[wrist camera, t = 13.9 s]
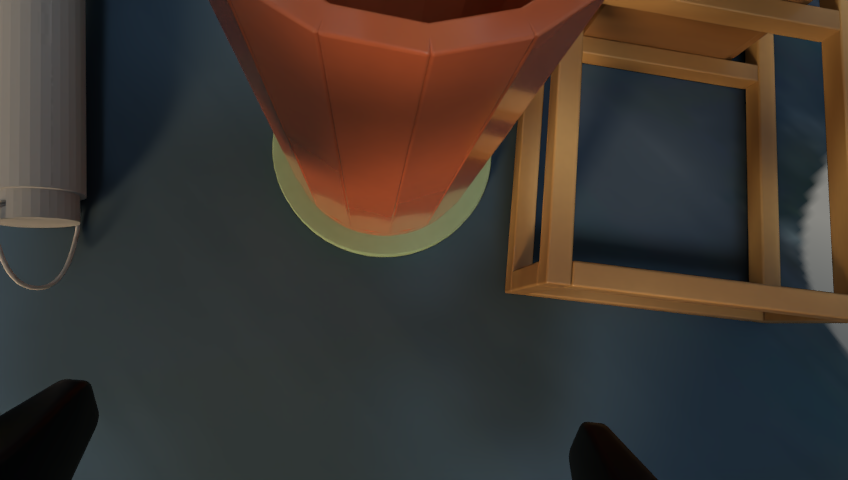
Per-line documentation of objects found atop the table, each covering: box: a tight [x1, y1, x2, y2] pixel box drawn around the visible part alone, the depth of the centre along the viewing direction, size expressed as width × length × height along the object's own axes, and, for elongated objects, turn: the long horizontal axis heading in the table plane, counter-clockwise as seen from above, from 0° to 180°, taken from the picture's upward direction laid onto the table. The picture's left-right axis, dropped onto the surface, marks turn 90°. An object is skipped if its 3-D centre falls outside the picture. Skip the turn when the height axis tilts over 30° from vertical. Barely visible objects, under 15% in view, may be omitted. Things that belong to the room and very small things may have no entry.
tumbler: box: [209, 0, 605, 236], centre depth 13 cm, size 7×7×12 cm
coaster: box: [272, 134, 491, 257], centre depth 19 cm, size 8×8×1 cm
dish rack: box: [505, 0, 848, 323], centre depth 15 cm, size 14×11×12 cm
